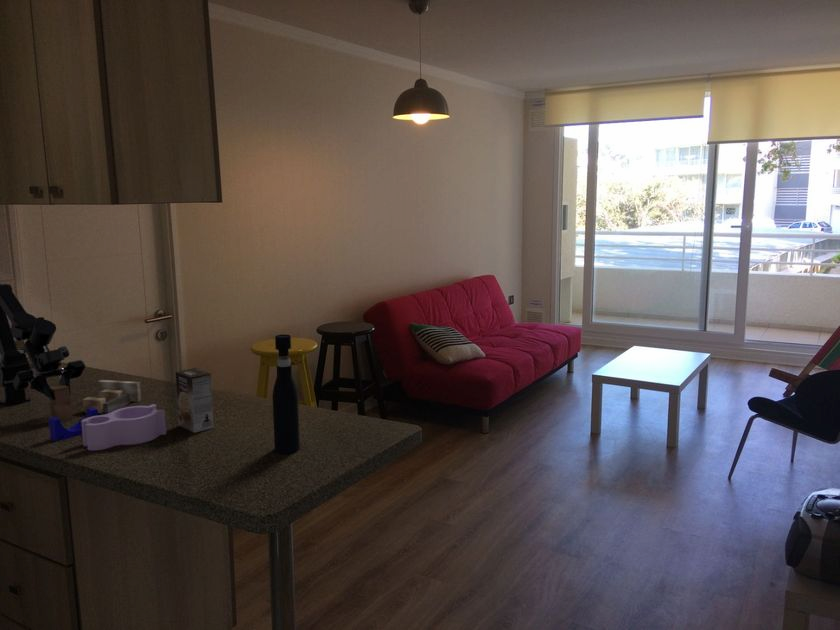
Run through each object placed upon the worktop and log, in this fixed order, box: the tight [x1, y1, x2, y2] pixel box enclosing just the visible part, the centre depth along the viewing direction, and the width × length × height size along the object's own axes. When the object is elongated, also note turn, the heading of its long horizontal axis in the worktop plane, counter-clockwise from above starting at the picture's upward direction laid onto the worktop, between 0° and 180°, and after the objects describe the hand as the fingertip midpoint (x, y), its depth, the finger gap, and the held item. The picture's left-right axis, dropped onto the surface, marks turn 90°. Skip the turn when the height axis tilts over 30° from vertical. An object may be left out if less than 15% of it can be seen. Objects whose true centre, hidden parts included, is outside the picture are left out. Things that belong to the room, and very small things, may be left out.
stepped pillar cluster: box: [82, 379, 142, 415], centre depth 213 cm, size 14×14×6 cm
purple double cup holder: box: [81, 403, 167, 451], centre depth 184 cm, size 20×12×7 cm, turn 132°
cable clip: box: [48, 407, 99, 442], centre depth 188 cm, size 12×4×6 cm, turn 144°
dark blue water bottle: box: [271, 334, 301, 455], centre depth 174 cm, size 6×6×30 cm
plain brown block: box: [48, 384, 73, 424], centre depth 199 cm, size 4×4×10 cm
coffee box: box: [175, 367, 214, 434], centre depth 192 cm, size 9×6×16 cm
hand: (61, 397), depth 197 cm, fingers closed on plain brown block, 4 cm apart
